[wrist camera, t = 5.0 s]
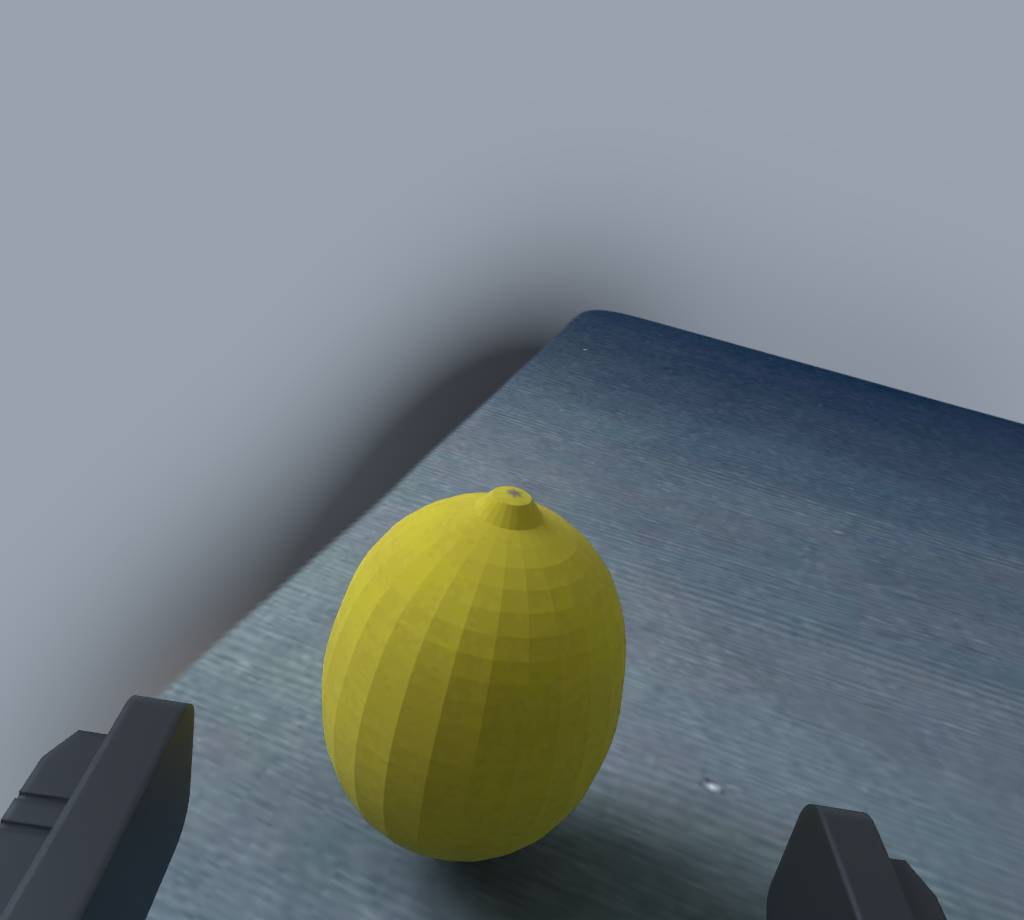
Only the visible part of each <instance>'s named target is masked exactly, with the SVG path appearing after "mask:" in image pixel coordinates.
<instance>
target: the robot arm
mask: <svg viewBox="0 0 1024 920" xmlns="http://www.w3.org/2000/svg"><path fill="white" fill-rule="evenodd" d="M193 732H194V707H193V705H192V704H188V703H181V702H175V701H169V700H162V699H156V698H150V697H143V696H137V695H134V696H132V697H131V698H130V699H129V700H128V701H127V703H126V704H125V706H124V707H123V709H122V711H121V713H120V714H119V716H118V718H117V719H116V721H115V723H114V724H113V726H112V728H111V729H110V731H109V733H108V734H100V733H94V732H87V731H81V730H78V731H77V732H75V733H74V734H73V735H71V736H70V737H69V738H67V739H66V740H65V741H63V742H62V743H60V744H59V745H58V746H56V747H55V748H54V749H52V750H51V751H50V752H48V753H47V754H46V755H44V756H43V757H42V758H41V759H40V761H39V762H38V764H37V765H36V767H35V769H34V770H33V772H32V773H31V775H30V776H29V778H28V779H27V781H26V782H25V784H24V785H23V787H22V788H21V790H20V791H19V796H18V798H15V799H14V800H13V802H12V803H11V805H10V807H9V808H8V809H7V811H6V813H5V814H4V816H3V817H2V819H1V822H0V920H145V919H146V917H147V914H148V912H149V910H150V907H151V905H152V903H153V900H154V898H155V896H156V893H157V891H158V889H159V886H160V884H161V882H162V879H163V877H164V874H165V872H166V870H167V867H168V865H169V863H170V860H171V858H172V856H173V853H174V851H175V849H176V846H177V844H178V841H179V838H180V835H181V832H182V829H183V825H184V822H185V817H186V813H187V808H188V803H189V796H190V782H191V765H192V748H193ZM767 920H947V919H946V917H945V915H944V913H943V911H942V908H941V906H940V904H939V902H938V900H937V898H936V896H935V895H934V894H933V892H932V891H931V890H930V889H929V888H928V887H927V885H926V884H925V883H924V882H923V881H922V880H921V878H920V877H919V876H918V875H917V874H916V873H915V871H914V870H913V869H912V868H911V867H910V866H909V864H908V863H907V862H906V861H904V860H898V859H891V858H889V857H888V854H887V852H886V849H885V847H884V845H883V842H882V840H881V838H880V835H879V833H878V831H877V828H876V826H875V824H874V822H873V820H872V819H871V817H870V816H869V815H868V814H866V813H864V812H858V811H852V810H846V809H839V808H833V807H827V806H820V805H814V804H809V805H806V806H805V807H804V808H803V810H802V811H801V813H800V815H799V818H798V820H797V822H796V825H795V827H794V830H793V832H792V834H791V837H790V839H789V842H788V844H787V846H786V849H785V851H784V854H783V856H782V858H781V861H780V863H779V866H778V868H777V870H776V873H775V875H774V878H773V880H772V883H771V885H770V889H769V893H768V899H767Z"/></svg>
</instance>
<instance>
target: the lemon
mask: <svg viewBox="0 0 1024 920" xmlns="http://www.w3.org/2000/svg"><path fill="white" fill-rule="evenodd" d="M625 660H626V638H625V626H624V619H623V614H622V609H621V604H620V601H619V598H618V594H617V591H616V588H615V585H614V582H613V580H612V577H611V575H610V572H609V570H608V569H607V567H606V566H605V564H604V562H603V561H602V559H601V558H600V556H599V555H598V554H597V552H596V551H595V549H594V548H593V547H592V545H591V544H590V543H589V542H588V541H587V539H586V538H585V537H584V536H583V535H582V534H581V533H580V532H579V531H578V530H577V529H575V528H574V527H573V526H572V525H571V524H570V523H568V522H567V521H566V520H565V519H563V518H562V517H561V516H560V515H558V514H556V513H555V512H553V511H551V510H550V509H548V508H546V507H544V506H542V505H539V504H537V503H535V502H534V501H533V499H532V497H531V496H530V495H529V494H528V493H527V492H525V491H524V490H521V489H519V488H515V487H510V486H502V487H497V488H495V489H494V490H492V491H491V492H489V493H469V494H462V495H458V496H454V497H451V498H447V499H443V500H439V501H436V502H434V503H432V504H429V505H427V506H425V507H423V508H421V509H419V510H417V511H415V512H413V513H411V514H410V515H408V516H406V517H405V518H403V519H402V520H400V521H399V522H398V523H396V524H395V525H394V526H393V527H392V528H391V529H390V530H389V531H388V532H387V533H386V534H385V535H384V536H383V537H382V538H381V539H380V540H379V541H378V542H377V543H376V544H375V545H374V546H373V547H372V548H371V549H370V551H369V552H368V553H367V555H366V556H365V558H364V559H363V561H362V562H361V563H360V565H359V567H358V569H357V571H356V573H355V575H354V576H353V578H352V581H351V583H350V585H349V587H348V590H347V592H346V594H345V597H344V599H343V602H342V604H341V607H340V609H339V612H338V614H337V617H336V620H335V622H334V625H333V628H332V631H331V634H330V638H329V641H328V645H327V649H326V654H325V659H324V665H323V675H322V709H323V727H324V737H325V741H326V746H327V750H328V753H329V756H330V759H331V761H332V764H333V766H334V769H335V771H336V774H337V776H338V779H339V781H340V784H341V786H342V789H343V790H344V792H345V793H346V795H347V796H348V798H349V799H350V801H351V802H352V803H353V805H354V806H355V807H356V808H357V810H358V811H359V812H360V813H361V815H362V816H363V817H364V818H365V820H366V821H367V822H368V823H369V824H371V825H372V826H373V827H374V828H375V829H377V830H378V831H379V832H381V833H382V834H383V835H385V836H386V837H387V838H388V839H390V840H391V841H392V842H394V843H396V844H398V845H400V846H402V847H404V848H407V849H409V850H411V851H413V852H415V853H417V854H420V855H424V856H428V857H433V858H437V859H441V860H445V861H468V862H476V861H481V860H486V859H491V858H497V857H501V856H504V855H508V854H510V853H513V852H515V851H517V850H519V849H521V848H524V847H526V846H528V845H530V844H532V843H534V842H536V841H538V840H539V839H541V838H542V837H544V836H545V835H546V834H547V833H549V832H550V831H551V830H552V829H553V828H554V827H556V826H557V825H558V824H559V823H560V822H561V821H562V820H564V819H565V818H566V817H567V816H568V815H569V814H570V813H571V812H572V811H573V810H574V809H575V808H576V806H577V805H578V804H579V802H580V801H581V800H582V798H583V797H584V795H585V793H586V792H587V790H588V788H589V786H590V785H591V783H592V781H593V779H594V777H595V776H596V774H597V772H598V770H599V769H600V767H601V765H602V763H603V761H604V759H605V757H606V755H607V753H608V750H609V748H610V746H611V743H612V740H613V737H614V734H615V731H616V726H617V722H618V718H619V713H620V706H621V699H622V691H623V683H624V675H625Z"/></svg>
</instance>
